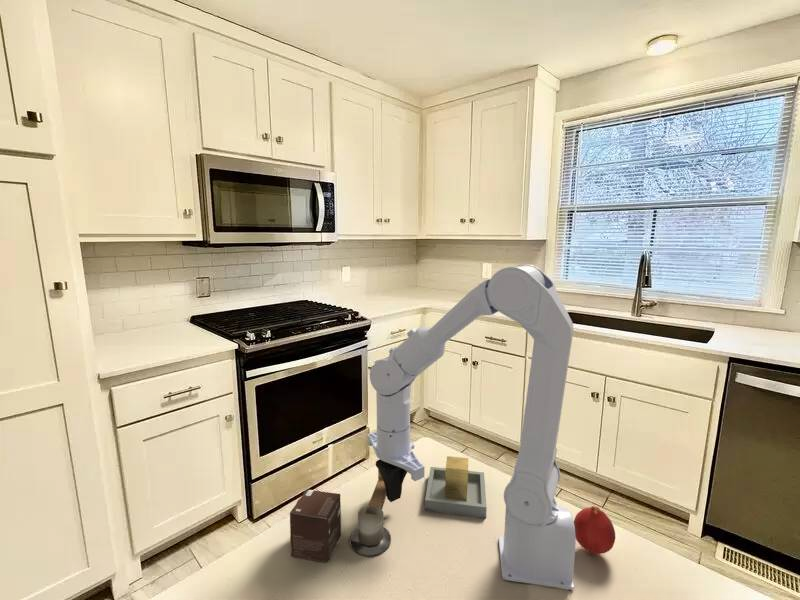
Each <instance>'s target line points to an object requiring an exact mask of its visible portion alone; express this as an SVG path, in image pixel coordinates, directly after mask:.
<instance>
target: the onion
mask: <svg viewBox="0 0 800 600" xmlns="http://www.w3.org/2000/svg"><path fill="white" fill-rule="evenodd" d="M573 521H574V526H575V538H576V541H577V543H578V545H580V546H581V547H582V549H584V550H585V551H586V552H587V553H589V554H590V555H592V556H593V555H594V556H595V555H601V554H606V553H607V552H610V550H612V549H613V548H614V545H615V541H616V530H615V527H614V524H613V522H612V520H611V519H610V517H609V516H608V515H607V514H606V513H605V512H604V511H603V510H601V509H600V507H599V506H598V505H592V506H590V507H585V508H583V509H581V510H580V511H579V512H577V514H575V517H574V518H573Z"/></svg>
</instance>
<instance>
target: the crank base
mask: <svg viewBox="0 0 800 600" xmlns="http://www.w3.org/2000/svg"><path fill="white" fill-rule="evenodd" d="M391 542H392V535H391V533H390V531H389V530H388V529H387V528H386V527H384V526H383V539H382V541H381V542H380V543H378V544H376V545H373V546H367V545H364V544H362V543H361V542H360V541H359V539H358V527H357V528H356V529H355V530H354V531H352V533H351V536H350V542H349V543H350V547H351V549H352V551H354V552H355V553H356V554H357V555H360V556H361V557H362V556H363V557H368V558H369V557H376V556H380V555H382V554H384V553H385V552H387V550H388V549H389V548H390V545H391V544H392V543H391Z"/></svg>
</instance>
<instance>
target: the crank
mask: <svg viewBox="0 0 800 600" xmlns="http://www.w3.org/2000/svg"><path fill="white" fill-rule="evenodd" d="M377 474H378V475H377V479H378V480H377V482H376V485H375V486H374V487H375V488H374V490H373V492H372V495H371V497H370V500H369V503H368V505H366V506H365V507H362V508H361V509H359V511H358V513H357V528H358V539H359V541H360V542H361V543H362V544H364V545H367V546H373V545H376V544H378V543H380V542H381V541H382V539H383V527H384V519H385V518H384V511H383V507H384V505H385V501H386V499H387V496H386V488H385V485H384V481H383V478H382V476H381V474H380V472H379V470H378V471H377Z"/></svg>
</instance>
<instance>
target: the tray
mask: <svg viewBox="0 0 800 600" xmlns="http://www.w3.org/2000/svg"><path fill="white" fill-rule="evenodd" d="M445 477H446V467H436V466H430V469H429V474H428V480H427V486H426V493H425V498H424V511H427V512H436V513H442V514H443V513H444V514H451V515H459V516H467V517H477V518H484V519H486V518H487V507H488V506H487V495H486V482H485V481H486V480H485V472H484V471H483V472H481V471H472V470H468V486H467V501H465V500H456V499H448V498H445Z"/></svg>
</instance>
